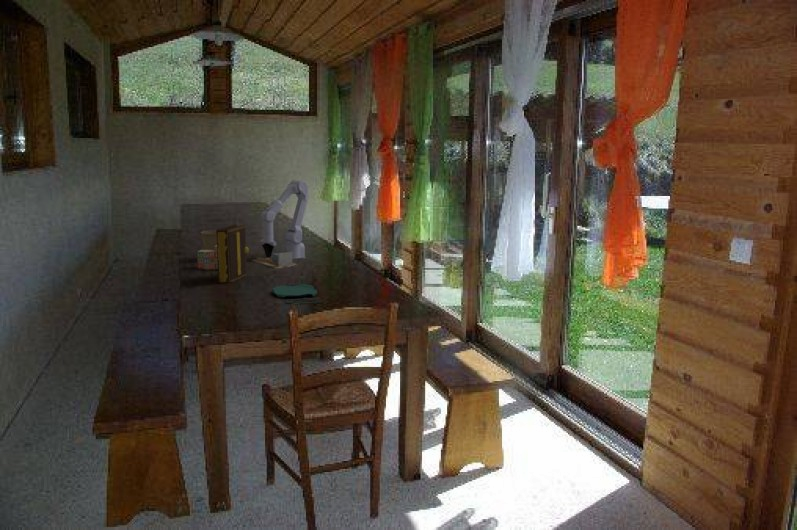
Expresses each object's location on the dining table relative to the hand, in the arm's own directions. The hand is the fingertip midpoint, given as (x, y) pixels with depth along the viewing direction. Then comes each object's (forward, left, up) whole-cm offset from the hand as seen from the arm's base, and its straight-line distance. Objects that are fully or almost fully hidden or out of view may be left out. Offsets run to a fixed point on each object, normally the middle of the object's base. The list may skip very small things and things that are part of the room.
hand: (268, 257), depth 351 cm
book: (+34, +28, -3) cm, 44 cm away
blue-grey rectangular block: (0, +12, -2) cm, 12 cm away
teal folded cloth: (+29, +77, -3) cm, 82 cm away
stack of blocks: (+29, +1, -3) cm, 29 cm away
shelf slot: (0, +6, -3) cm, 6 cm away
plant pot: (+21, -21, -3) cm, 30 cm away
